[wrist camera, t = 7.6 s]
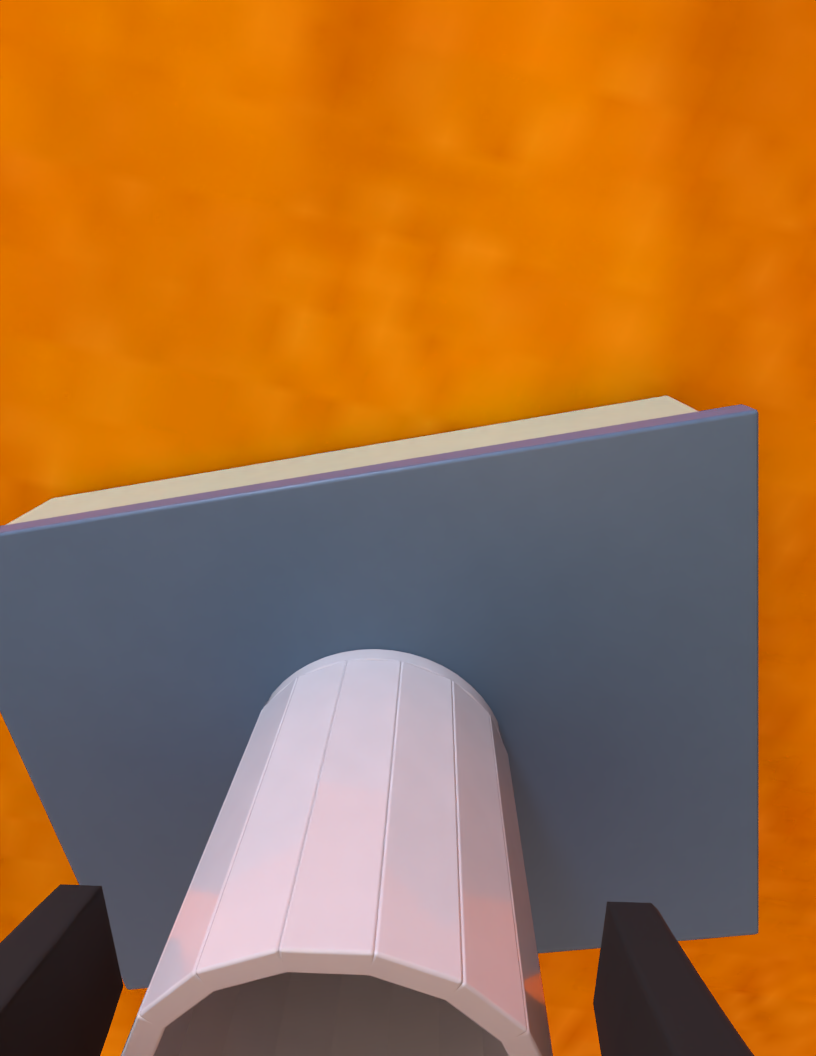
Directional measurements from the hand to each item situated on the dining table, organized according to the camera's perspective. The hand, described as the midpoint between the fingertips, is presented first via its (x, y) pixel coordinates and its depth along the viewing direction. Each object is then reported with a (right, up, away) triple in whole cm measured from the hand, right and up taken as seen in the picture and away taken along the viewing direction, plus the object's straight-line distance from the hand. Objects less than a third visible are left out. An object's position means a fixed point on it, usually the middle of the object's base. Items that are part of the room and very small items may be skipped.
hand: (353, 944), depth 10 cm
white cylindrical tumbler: (0, +1, +4) cm, 4 cm away
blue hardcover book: (0, +3, +7) cm, 8 cm away
